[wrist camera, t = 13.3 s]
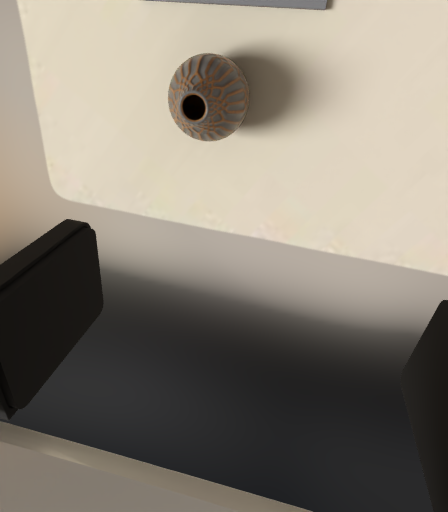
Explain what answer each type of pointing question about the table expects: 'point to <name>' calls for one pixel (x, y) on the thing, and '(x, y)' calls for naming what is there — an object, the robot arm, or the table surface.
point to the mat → (263, 3)
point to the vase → (208, 97)
